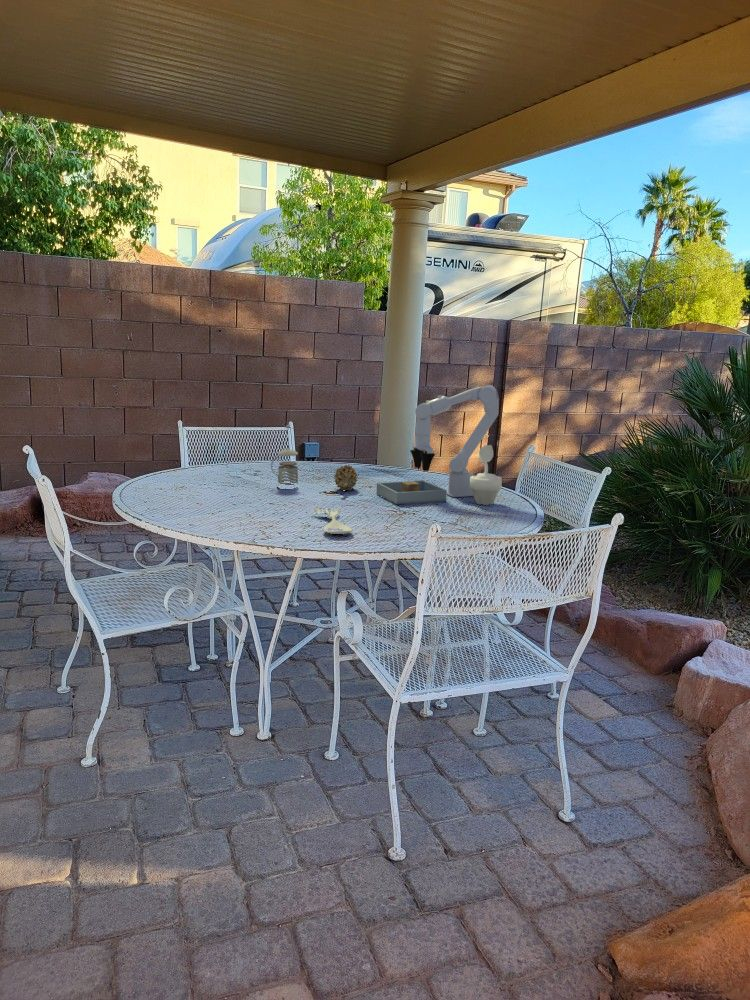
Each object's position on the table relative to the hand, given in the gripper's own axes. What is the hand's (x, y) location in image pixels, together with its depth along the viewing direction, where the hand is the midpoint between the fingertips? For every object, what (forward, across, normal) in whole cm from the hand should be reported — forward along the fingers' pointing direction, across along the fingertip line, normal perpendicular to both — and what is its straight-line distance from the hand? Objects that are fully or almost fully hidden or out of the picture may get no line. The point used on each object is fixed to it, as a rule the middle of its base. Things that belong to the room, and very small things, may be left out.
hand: (421, 469), depth 285 cm
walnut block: (+9, +8, -8) cm, 14 cm away
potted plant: (+10, +24, +15) cm, 30 cm away
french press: (+10, -25, -48) cm, 55 cm away
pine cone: (+10, -10, -28) cm, 31 cm away
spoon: (+10, +40, -49) cm, 64 cm away
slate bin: (+9, +8, -8) cm, 15 cm away
